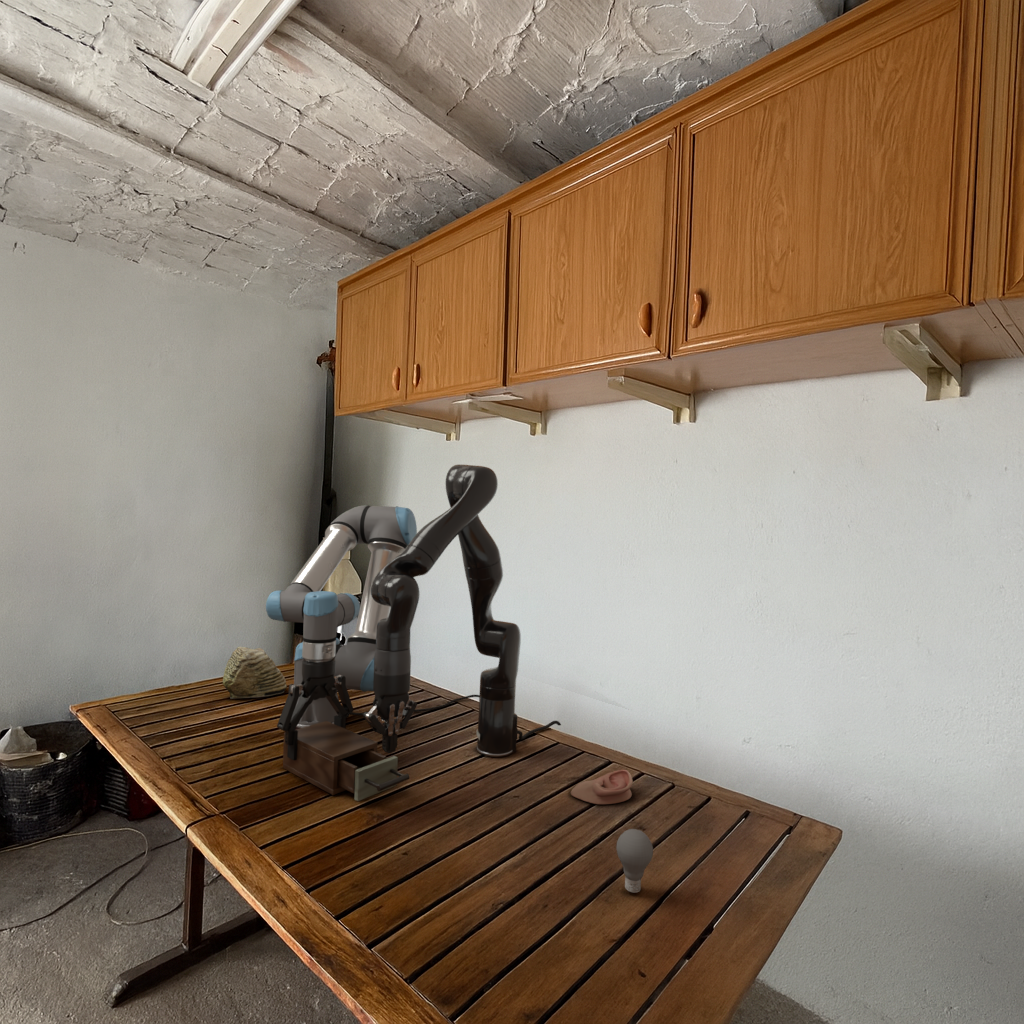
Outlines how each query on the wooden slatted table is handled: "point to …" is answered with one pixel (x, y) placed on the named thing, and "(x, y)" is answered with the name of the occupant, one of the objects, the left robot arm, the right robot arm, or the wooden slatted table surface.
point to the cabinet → (324, 753)
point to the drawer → (368, 774)
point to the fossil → (252, 674)
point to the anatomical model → (605, 788)
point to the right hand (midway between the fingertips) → (389, 751)
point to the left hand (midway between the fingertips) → (315, 750)
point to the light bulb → (634, 857)
